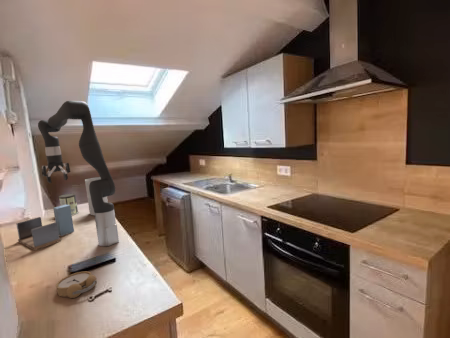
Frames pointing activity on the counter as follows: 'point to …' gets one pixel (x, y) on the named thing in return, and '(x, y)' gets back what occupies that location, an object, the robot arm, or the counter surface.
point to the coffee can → (69, 202)
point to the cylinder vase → (90, 196)
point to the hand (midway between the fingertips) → (58, 181)
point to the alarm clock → (76, 284)
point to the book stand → (30, 243)
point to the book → (63, 219)
